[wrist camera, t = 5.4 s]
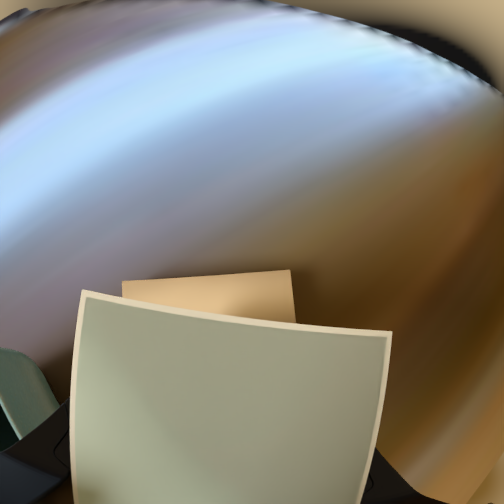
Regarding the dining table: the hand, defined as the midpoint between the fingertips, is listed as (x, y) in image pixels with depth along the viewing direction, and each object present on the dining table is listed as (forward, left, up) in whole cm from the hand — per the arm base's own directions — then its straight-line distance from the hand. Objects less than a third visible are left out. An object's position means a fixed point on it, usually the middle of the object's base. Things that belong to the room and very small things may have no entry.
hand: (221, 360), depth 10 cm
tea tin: (-1, 0, -7) cm, 7 cm away
